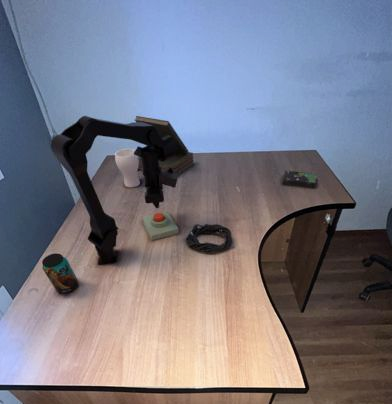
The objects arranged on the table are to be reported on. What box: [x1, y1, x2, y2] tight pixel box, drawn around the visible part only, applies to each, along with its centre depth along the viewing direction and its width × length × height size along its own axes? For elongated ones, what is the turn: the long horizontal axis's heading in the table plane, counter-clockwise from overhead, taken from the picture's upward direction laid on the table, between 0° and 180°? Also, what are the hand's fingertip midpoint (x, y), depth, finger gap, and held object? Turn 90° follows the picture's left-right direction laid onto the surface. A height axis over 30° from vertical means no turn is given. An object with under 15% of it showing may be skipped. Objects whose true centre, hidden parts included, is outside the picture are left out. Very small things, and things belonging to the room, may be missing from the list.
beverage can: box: [41, 252, 80, 295], centre depth 81 cm, size 7×7×12 cm
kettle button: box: [153, 212, 164, 222], centre depth 103 cm, size 4×4×2 cm
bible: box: [134, 115, 194, 177], centre depth 136 cm, size 23×20×25 cm
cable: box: [185, 223, 233, 254], centre depth 97 cm, size 17×14×4 cm
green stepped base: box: [141, 210, 180, 241], centre depth 105 cm, size 14×11×4 cm
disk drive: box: [281, 170, 317, 189], centre depth 128 cm, size 10×3×15 cm
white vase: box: [114, 148, 141, 188], centre depth 127 cm, size 11×11×15 cm
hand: (157, 207), depth 100 cm, fingers closed
